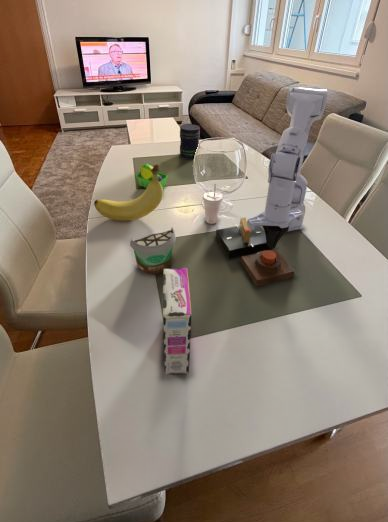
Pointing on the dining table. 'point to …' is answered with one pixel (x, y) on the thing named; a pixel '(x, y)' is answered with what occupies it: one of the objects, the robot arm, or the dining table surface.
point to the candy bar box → (176, 321)
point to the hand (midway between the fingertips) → (270, 245)
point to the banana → (133, 202)
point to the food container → (154, 252)
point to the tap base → (241, 241)
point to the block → (266, 268)
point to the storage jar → (189, 140)
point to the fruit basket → (149, 176)
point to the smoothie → (212, 205)
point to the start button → (268, 257)
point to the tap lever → (245, 230)
